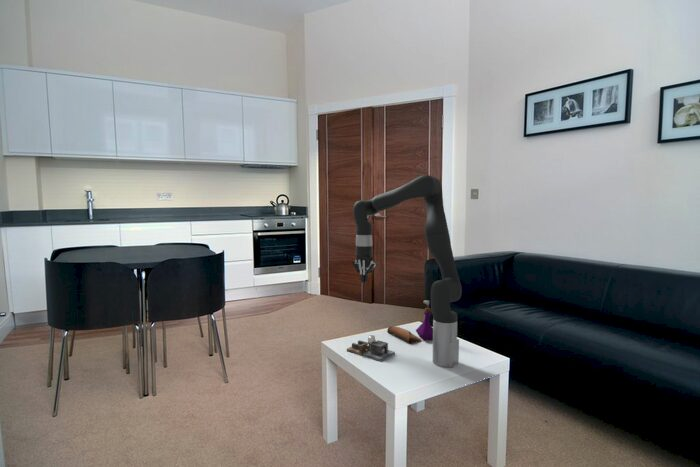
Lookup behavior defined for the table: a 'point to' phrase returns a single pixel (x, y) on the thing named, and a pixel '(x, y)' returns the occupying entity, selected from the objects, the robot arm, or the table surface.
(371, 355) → the plate
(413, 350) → the table surface
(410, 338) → the sunglasses case
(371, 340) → the steel bolt
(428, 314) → the perfume bottle
